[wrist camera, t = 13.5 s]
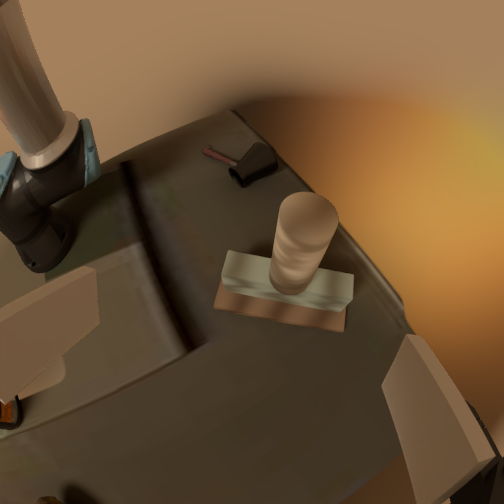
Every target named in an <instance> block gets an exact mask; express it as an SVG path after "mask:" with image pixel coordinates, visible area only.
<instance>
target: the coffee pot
mask: <svg viewBox="0 0 504 504" xmlns="http://www.w3.org/2000/svg"><path fill="white" fill-rule="evenodd" d="M207 146H210V147H211V145H207ZM207 146H206V147H207ZM206 147H205V148H203V149H202V153H204V154H205V155H206V156H209V157H212V158H213V159H216V160H220V161H223V162H225V163H226V164H228V165H232V166H234V167H230V168H229V173H230V176H231V177H232V179H233V180H234V181H235V182H236V183H237V184H239V186H240V187H242V188H243V187H244V186H245V184H246V183H247V182H248V181H251V180H254V179H256V178H259V177H262V176H265V175H267V174H270V173H273V172H275V171H276V170H277V169H278V162H277V158H276V156H275V154H274V153H273V152H272V150H271V149H270V148H269V147H268V146H266V145H265V144H263V143H260V142H256V143H255V144H254V145H253V146H252V147H251V148H250V149H249V150H248V152H247V153H246V154H245V155H244V156H243V158H242V159H241V160H240V161H239V162H238V163H236V162H234V161H233V160H231V159H228V158H225V157H223V156H222V155H220V154H219V153H217V152H214V151H213V150H211V149H212V147H211V149H209V148H206Z"/></svg>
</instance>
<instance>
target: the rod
mask: <svg viewBox="0 0 504 504" xmlns="http://www.w3.org/2000/svg"><path fill="white" fill-rule="evenodd" d="M338 222H339V218H338V213H337V211H336V209H335V207H334V206H333V205H332V203H331V202H329V201H328V200H327V199H326V198H324V197H322V196H320V195H318V194H315V193H311V192H298V193H294V194H292V195H290V196H288V197H287V198H285V199H284V201H283V202H282V204H281V206H280V210H279V216H278V222H277V228H276V234H275V240H274V246H273V252H272V258H271V264H270V270H269V280H270V282H271V284H272V286H273V287H274V288H275V289H276V290H277V291H278V292H280V293H282V294H285V295H297V294H300V293H302V292H303V291H305V290H306V289H307V287H308V286H309V284H310V282H311V280H312V278H313V276H314V274H315V272H316V270H317V268H318V266H319V264H320V262H321V260H322V258H323V256H324V254H325V252H326V250H327V248H328V245H329V243H330V241H331V239H332V237H333V235H334V233H335V231H336V229H337V226H338Z"/></svg>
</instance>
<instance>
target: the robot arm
mask: <svg viewBox="0 0 504 504" xmlns="http://www.w3.org/2000/svg"><path fill="white" fill-rule="evenodd" d="M0 120H1V121H2V122H3V124H4V125H5V127H6V128H7V130H8V131H9V132H10V134H11V135H12V136H13V138H14V139H15V140H16V142H17V143H18V144H19V145H20V147H21V151H20V156H19V157H17V154H16V153H15V152H13V151H10V152H7V153H5V154H4V155H2V156H1V157H0V231H1V232H2V233H3V234H4V235H5V236H6V237H7V238H8V239H9V240H10V241H11V242H12V243H13V244H14V245H15V247H16V250H17V252H18V254H19V256H20V257H21V260H22V261H23V263H24V264H25V266H26V267H28V268H29V269H30V270H31V271H32V272H35V273H44V272H47V271H49V270H51V269H52V268H54V267H55V266H56V265H57V264H58V263H59V262H60V261H61V260H62V259H63V258H64V256H65V255H66V253H67V252H68V250H69V248H70V246H71V243H72V240H73V234H74V229H73V224H72V222H71V220H70V219H69V218H68V216H67V215H66V214H65V213H64V212H62V211H60V210H59V209H57V208H55V207H54V206H52V204H54V203H55V202H57V201H59V200H61V199H63V198H65V197H67V196H68V195H70V194H72V193H74V192H76V191H78V190H80V189H82V188H85V187H86V186H87V185H88V184H90V183H92V182H94V181H95V180H97V179H98V178H99V177H100V175H101V165H100V160H99V156H98V152H97V148H96V144H95V140H94V136H93V132H92V127H91V123H90V121H89V119H87V118H86V119H81V120H80V121H78V118H77V117H76V115H75V114H74V113H72V112H69V111H63V110H62V108H61V106H60V104H59V102H58V100H57V98H56V95H55V93H54V91H53V89H52V87H51V85H50V83H49V80H48V78H47V76H46V74H45V71H44V69H43V67H42V65H41V62H40V60H39V57H38V55H37V52H36V50H35V47H34V44H33V42H32V39H31V37H30V34H29V31H28V28H27V25H26V22H25V19H24V16H23V13H22V10H21V6H20V3H19V0H0ZM99 324H100V321H99V311H98V299H97V282H96V269H93V268H89V267H86V266H82V267H80V268H78V269H76V270H74V271H72V272H69V273H67V274H65V275H63V276H61V277H59V278H57V279H55V280H53V281H51V282H49V283H47V284H45V285H43V286H41V287H39V288H37V289H35V290H34V291H31V292H30V293H28V294H26V295H24V296H22V297H20V298H18V299H17V300H14V301H13V302H11V303H9V304H7V305H5V306H4V307H2V308H0V401H1V402H2V403H4V404H5V405H6V404H7V403H8V402H9V401H10V400H11V399H12V398H14V397H15V396H16V395H17V394H18V393H19V392H20V391H21V390H22V389H24V388H25V387H26V386H27V385H28V384H29V383H30V382H31V381H33V380H34V379H35V378H36V377H37V376H38V375H39V374H40V373H42V372H43V371H44V370H45V369H46V368H47V367H49V365H51V364H52V363H53V362H54V361H56V360H57V359H58V358H59V357H60V356H61V355H63V354H64V353H65V352H66V351H67V350H69V349H70V348H71V347H72V346H73V345H75V344H76V343H77V342H78V341H79V340H81V339H82V338H83V337H84V336H85V335H87V334H88V333H89V332H90V331H92V330H93V329H94V328H95V327H96V326H98V325H99ZM381 387H382V390H383V392H384V395H385V398H386V401H387V404H388V407H389V409H390V412H391V415H392V418H393V421H394V424H395V427H396V431H397V434H398V437H399V440H400V443H401V447H402V450H403V453H404V457H405V460H406V464H407V467H408V470H409V474H410V478H411V482H412V486H413V490H414V494H415V498H416V503H417V504H441V503H443V502H444V501H446V500H447V499H448V498H450V501H451V503H450V504H504V457H503V458H502V456H501V455H500V453H499V451H498V449H497V447H496V445H495V443H494V442H493V440H492V438H491V436H490V434H489V433H488V431H487V429H486V428H484V426H485V425H484V424H483V422H482V420H480V417H479V415H478V414H477V412H476V410H475V409H474V408H473V407H472V406H471V405H470V404H469V403H468V402H467V401H466V400H464V399H463V397H462V395H461V394H460V392H459V391H458V389H457V388H456V386H455V384H454V383H453V381H452V380H451V378H450V377H449V375H448V374H447V373H446V371H445V369H444V368H443V366H442V365H441V363H440V362H439V361H438V359H437V358H436V356H435V355H434V353H433V352H432V350H431V349H430V348H429V346H428V345H427V344H426V342H425V341H424V339H423V338H422V337H421V336H420V335H410V334H406V336H405V338H404V340H403V342H402V345H401V347H400V349H399V351H398V353H397V355H396V358H395V360H394V362H393V364H392V366H391V368H390V370H389V372H388V374H387V376H386V378H385V379H384V381H383V383H382V385H381Z"/></svg>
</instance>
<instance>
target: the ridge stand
mask: <svg viewBox="0 0 504 504" xmlns="http://www.w3.org/2000/svg"><path fill="white" fill-rule="evenodd" d="M270 264H271V258H266V257H261V256H255V255H250V254H245V253H240V252H235V251H230V250H228V253H227V257H226V260H225V263H224V267H223V270H222V274H221V275H222V278H221V281H220V285H219V288H218V292H217V295H216V299H215V302H214V308H216V309H220V310H224V311H229V312H233V313H238V314H243V315H247V316H252V317H257V318H262V319H267V320H272V321H277V322H282V323H288V324H293V325H299V326H305V327H311V328H317V329H323V330H329V331H335V332H343V331H344V325H345V314H346V306H347V305H348V304H349V303H350V302H351V301H352V300H353V284H354V275H353V274H348V273H343V272H338V271H332V270H327V269H322V268H317V270H316V272H315V274H314V276H313V278H312V280H311V282H310V284H309V286H308V287H307V289H306V290H305V291H303V292H302V293H300V294H297V295H285V294H282V293H280V292H278V291H277V290H276V289H275V288H274V287H273V286H272V284H271V282H270V280H269V270H270Z"/></svg>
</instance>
